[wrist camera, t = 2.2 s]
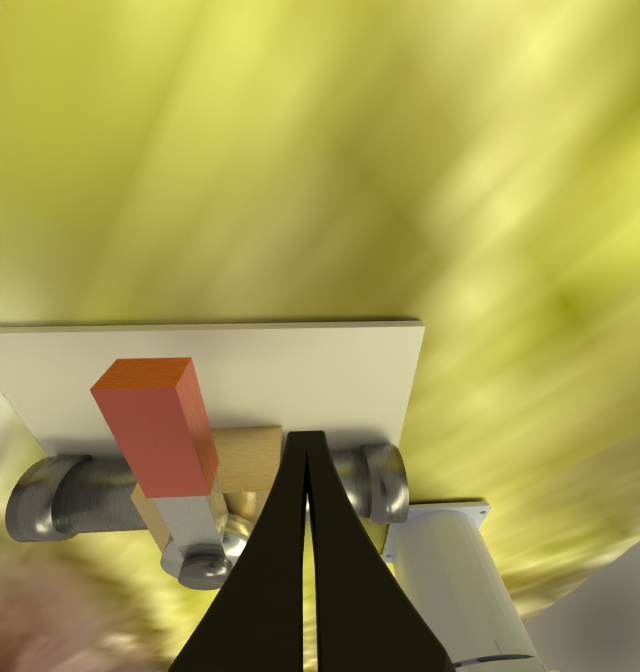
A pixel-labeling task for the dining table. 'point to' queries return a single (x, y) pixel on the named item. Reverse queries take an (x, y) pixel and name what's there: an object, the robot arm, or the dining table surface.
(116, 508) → the valve body
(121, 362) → the lever
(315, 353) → the mounting board
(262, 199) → the dining table surface
